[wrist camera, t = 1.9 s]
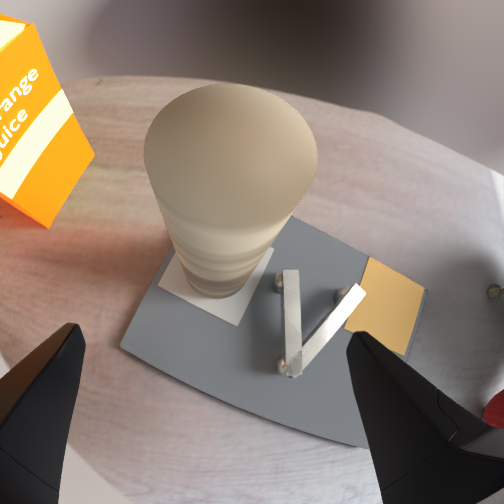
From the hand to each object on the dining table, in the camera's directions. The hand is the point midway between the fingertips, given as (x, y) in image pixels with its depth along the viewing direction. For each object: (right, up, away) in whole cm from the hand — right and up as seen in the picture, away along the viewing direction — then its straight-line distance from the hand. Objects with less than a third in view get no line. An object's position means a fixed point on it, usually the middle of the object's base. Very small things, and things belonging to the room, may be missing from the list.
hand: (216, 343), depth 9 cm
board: (+4, -2, +12) cm, 13 cm away
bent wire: (+4, -2, +11) cm, 12 cm away
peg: (-1, +2, +12) cm, 12 cm away
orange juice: (-18, +10, +13) cm, 24 cm away
